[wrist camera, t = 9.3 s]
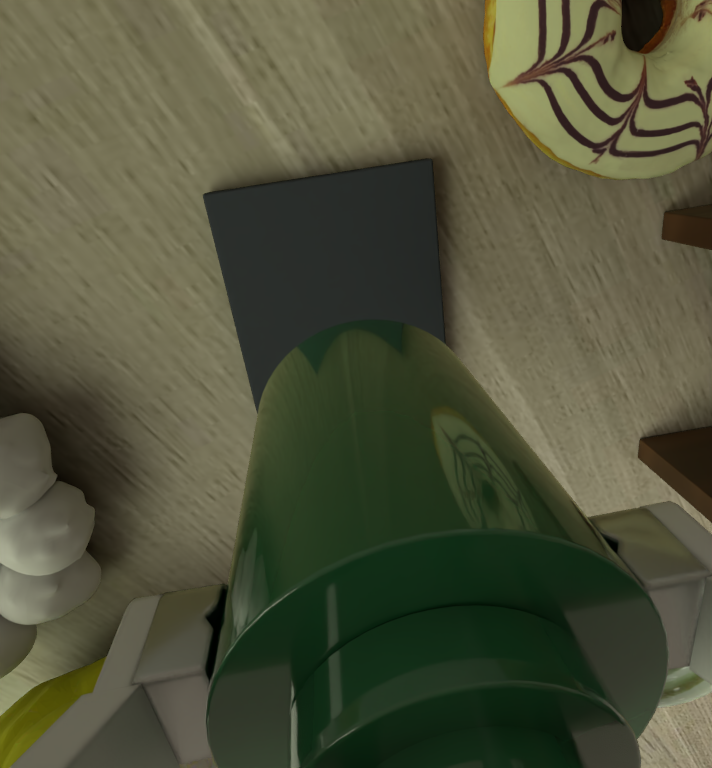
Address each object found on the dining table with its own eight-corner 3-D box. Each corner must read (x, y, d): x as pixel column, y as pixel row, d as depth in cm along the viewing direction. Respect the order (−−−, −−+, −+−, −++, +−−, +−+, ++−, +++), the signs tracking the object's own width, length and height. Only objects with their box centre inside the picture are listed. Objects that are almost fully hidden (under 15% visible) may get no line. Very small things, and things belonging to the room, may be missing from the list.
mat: (205, 192, 20) (201, 193, 19) (428, 158, 20) (432, 158, 20) (269, 449, 25) (268, 458, 24) (447, 418, 25) (451, 426, 25)
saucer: (662, 687, 36) (684, 723, 34) (556, 654, 33) (573, 690, 31) (764, 598, 33) (796, 631, 30) (655, 554, 30) (681, 586, 28)
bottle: (233, 340, 12) (-125, 1266, 2) (471, 300, 13) (1286, 957, 2) (282, 530, 15) (236, 1399, 4) (481, 495, 15) (886, 1246, 5)
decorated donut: (543, -222, 16) (608, -327, 13) (805, -88, 18) (923, -147, 15) (434, 128, 20) (462, 120, 16) (663, 206, 22) (730, 214, 19)
